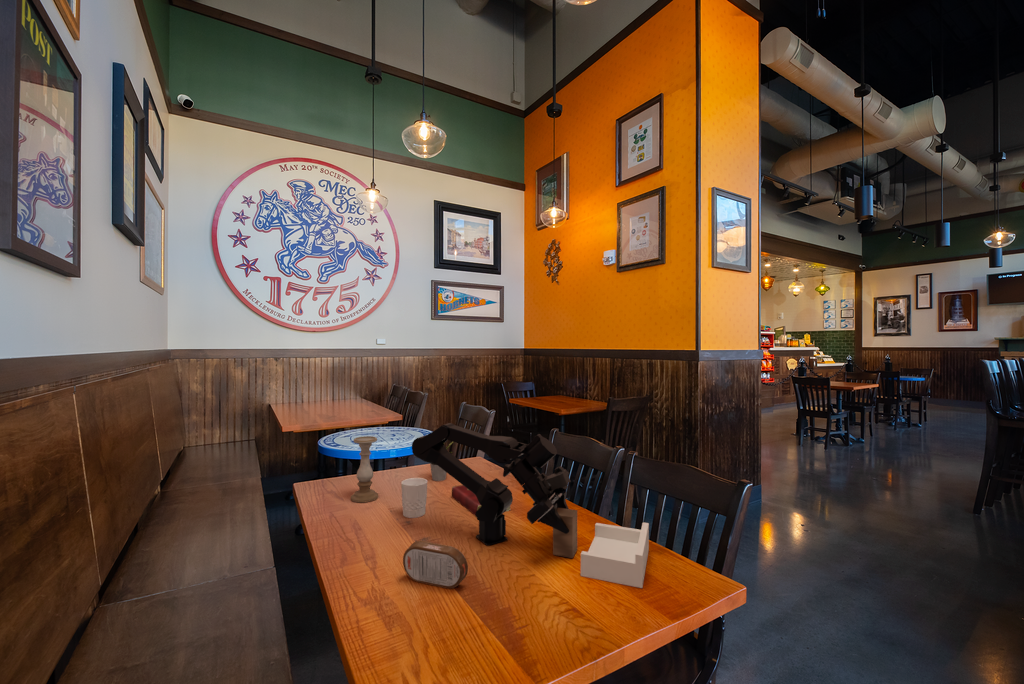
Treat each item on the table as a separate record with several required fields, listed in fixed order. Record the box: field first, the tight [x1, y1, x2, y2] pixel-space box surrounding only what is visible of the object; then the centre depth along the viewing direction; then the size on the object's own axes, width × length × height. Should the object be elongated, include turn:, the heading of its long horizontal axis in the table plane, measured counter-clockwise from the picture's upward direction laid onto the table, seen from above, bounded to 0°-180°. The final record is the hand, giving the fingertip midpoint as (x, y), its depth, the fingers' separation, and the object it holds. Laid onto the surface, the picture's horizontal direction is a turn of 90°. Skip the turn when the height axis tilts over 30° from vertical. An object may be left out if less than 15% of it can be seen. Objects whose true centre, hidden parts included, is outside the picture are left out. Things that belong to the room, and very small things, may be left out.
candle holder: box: [350, 435, 379, 504], centre depth 149 cm, size 9×9×20 cm
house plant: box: [429, 441, 454, 482], centre depth 171 cm, size 14×14×16 cm
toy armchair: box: [580, 522, 650, 589], centre depth 107 cm, size 14×19×7 cm
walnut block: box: [552, 508, 578, 559], centre depth 111 cm, size 5×5×10 cm
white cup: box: [400, 477, 428, 519], centre depth 136 cm, size 8×8×10 cm
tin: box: [402, 540, 469, 589], centre depth 97 cm, size 15×3×8 cm, turn 71°
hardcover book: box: [451, 484, 511, 517], centre depth 146 cm, size 12×21×4 cm, turn 30°
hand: (570, 528), depth 111 cm, fingers open, 6 cm apart
